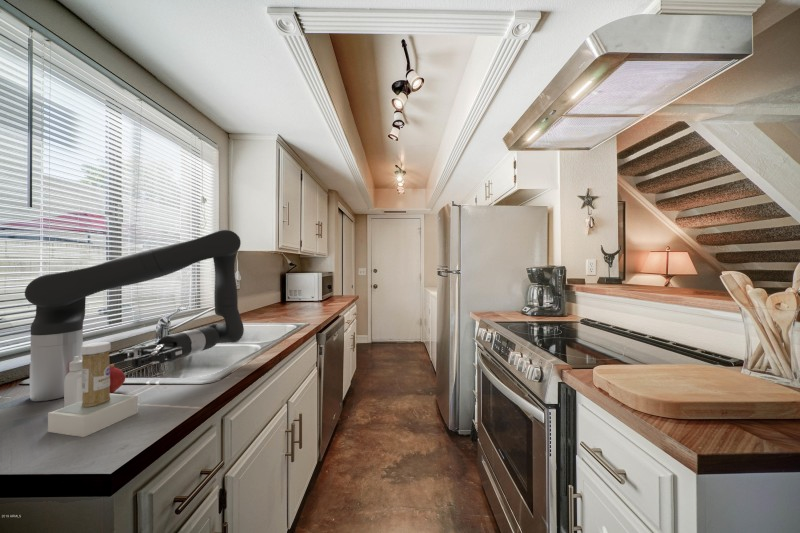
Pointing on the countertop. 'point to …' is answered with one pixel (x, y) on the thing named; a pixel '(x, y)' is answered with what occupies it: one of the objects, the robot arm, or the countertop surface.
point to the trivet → (91, 415)
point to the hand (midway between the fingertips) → (118, 362)
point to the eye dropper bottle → (73, 383)
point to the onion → (116, 378)
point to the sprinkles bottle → (95, 373)
